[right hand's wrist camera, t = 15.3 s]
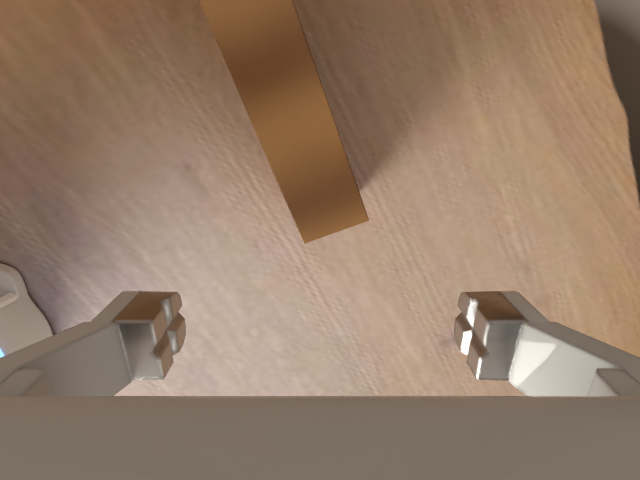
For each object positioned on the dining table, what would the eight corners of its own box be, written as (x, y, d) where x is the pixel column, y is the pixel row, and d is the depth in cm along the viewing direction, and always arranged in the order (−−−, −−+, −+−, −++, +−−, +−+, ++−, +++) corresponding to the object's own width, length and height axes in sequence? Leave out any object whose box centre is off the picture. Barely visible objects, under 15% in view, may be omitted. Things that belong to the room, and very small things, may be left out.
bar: (358, 193, 33) (369, 220, 26) (307, 212, 34) (303, 244, 27) (246, -127, 25) (215, -222, 17) (181, -93, 25) (124, -172, 18)
